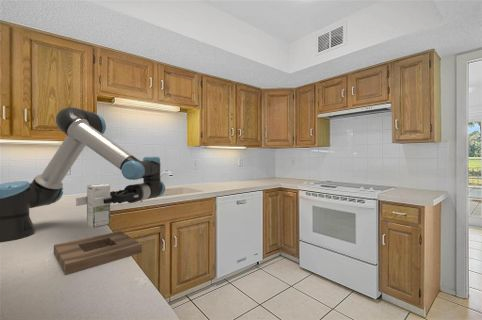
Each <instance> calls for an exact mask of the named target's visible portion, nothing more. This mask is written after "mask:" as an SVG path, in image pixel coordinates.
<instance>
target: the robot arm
mask: <svg viewBox="0 0 482 320" xmlns="http://www.w3.org/2000/svg"><path fill="white" fill-rule="evenodd" d="M55 123H56V125H57V128H58V129H59V130H60V131H61V132H62V133H64V135H66V137H65V138H64V139H63V141H62V143H61V145H60V146H59V147H58V149H57V150H56V152H55V153H54V155H53V156H52V158H51V159H50V161H49V162H48V164H47V165H46V167H45V169H44V170H43V172H42V173H41V174H37V175H36V176H35V177H34V178H33V180H32V181H31V182H29V181H25V180H18V181H16V180H15V181H9V182H3V183H0V242H7V241H8V242H9V241H14V240H19V239H22V238H23V239H24V238H26V237H29V236H32V235H34V234H35V230H36V229H35V226H34V223H33V222H32V221H33V220H32V219H31V216H30V209H33V208H38V207H45V206H49V205H52V204H54V203H55V204H56V203H57V202H58V201H60V199H61V198H62V197H63V194H64V187H63V185H64V184H63V182H62V181H63V180H64V179H65V177H66V176H67V174H68V172H69V171H70V170H71V168H72V167H73V165H74V163H75V162H76V160H77V159H78V157H80V155H81V153H82V152H83V150H84V148H85V147H88V148H89V149H90V150H92V151H93V152H95V153H96V154H98V155H99V156H100V157H102V158H104V160H106V161H108V162H109V163H110V164H112V165H113V166H114V167H116V168H118V169H119V170H120V172H121V174H122V176H123V178H125V179H127V180H130V181H131V180H133V181H134V180H136V181H137V180H141V179H143V182H141V183H135V184H128V185H127V186H125V187H124V189H119V190H111V191H110V196H107V197H101V198H96V199H93V207H98V206H103V205H108V204H110V205H111V204H123V203H126V202H127V203H128V204H133V203H138V202H140V203H142V202H144V201H145V200H150V199H155V198H158V197H161V196H163V195H164V193H165V192H166V186H165V183H164V182H163V181H161V166H162V165H161V159H160V157H159V156H144V157H143V158H142V160H140V159H138V158H137V157H135V156H134V155H132V154H131V153H130V152H128V151H127V150H126V149H124V148H123V147H121V146H120V145H118V143H116V142H114V141H113V140H112V139H110V138H108V137H107V136H105V132H106V130H107V125H106V120H105V119H104V117H103V116H102V115H100V114H98V113H95V112H93V111H90V110H85V109H81V108H79V107H75V106H73V107H72V106H71V107H64V108H62V109H60V110H59V111H58V112H57V113H56V116H55ZM85 205H87V195H84V196H80V197H79V196H78V197H76V198H75V206H76V207H78V206H85Z"/></svg>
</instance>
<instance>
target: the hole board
mask: <svg viewBox="0 0 482 320" xmlns="http://www.w3.org/2000/svg"><path fill="white" fill-rule="evenodd" d="M142 246H143V244H142V243H141V242H139V241H138V240H136V239H134V238H132V237H131V236H129V235H127V234H125V233H124V231H123V232H122V231H121V230H119V231H118V230H117V231H113V232H109V233H104V234H98V235H94V236H90V237H86V238H80V239H76V240H71V241H67V242H61V243H56V244H53V255H54V257H55V258H56V261H58V264H59V266H60V267H61V269H62V271H63V273H64V275H69V274H73V273H75V272H79V271H83V270H87V269H89V268H93V267H96V266H101V265H103V264H107V263H110V262H113V261H118V260H120V259H124V258H127V257H131V256H134V255H137V254H142V253H143V250H142V249H143V247H142Z"/></svg>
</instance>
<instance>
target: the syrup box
mask: <svg viewBox="0 0 482 320" xmlns="http://www.w3.org/2000/svg"><path fill="white" fill-rule="evenodd" d="M110 192H111V184H108V183H98V184H89V185H86V196H87V204H86V225H87V226H88V227H90V228H91V229H94V228H100V227H104V226H109V225H111V204H108V205H103V206H98V207H93V199H96V198H101V197H107V196H110Z"/></svg>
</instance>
